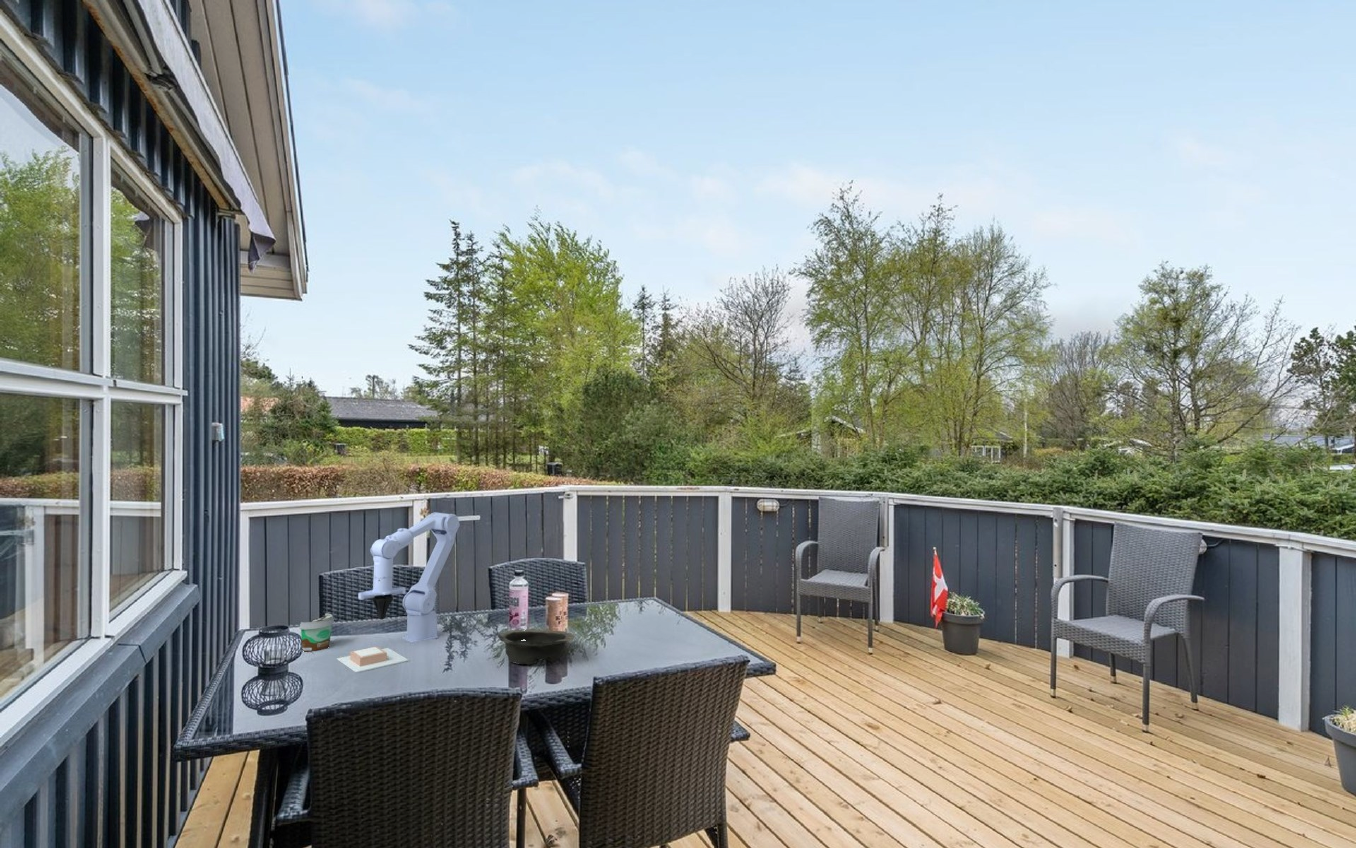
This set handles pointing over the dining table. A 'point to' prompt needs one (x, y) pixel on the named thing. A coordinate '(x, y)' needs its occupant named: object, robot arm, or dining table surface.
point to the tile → (368, 656)
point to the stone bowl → (534, 645)
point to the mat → (391, 660)
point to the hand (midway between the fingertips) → (381, 618)
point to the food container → (316, 633)
